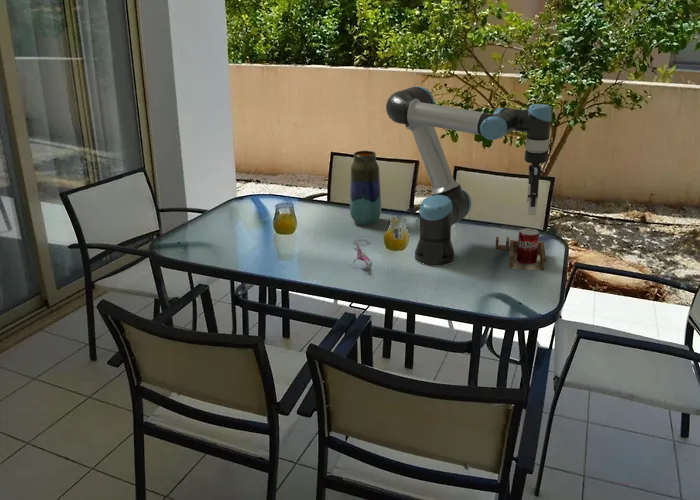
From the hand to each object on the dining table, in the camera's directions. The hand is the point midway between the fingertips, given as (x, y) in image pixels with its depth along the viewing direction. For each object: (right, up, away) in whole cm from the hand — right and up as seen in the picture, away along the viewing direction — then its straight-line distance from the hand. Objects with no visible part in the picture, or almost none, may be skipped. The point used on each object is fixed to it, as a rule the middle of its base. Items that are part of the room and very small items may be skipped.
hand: (531, 208), depth 225 cm
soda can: (+1, -19, +8) cm, 21 cm away
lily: (-61, -21, +10) cm, 65 cm away
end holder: (+1, -19, +10) cm, 22 cm away
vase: (-58, -3, +53) cm, 79 cm away
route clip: (-5, -14, +22) cm, 27 cm away
